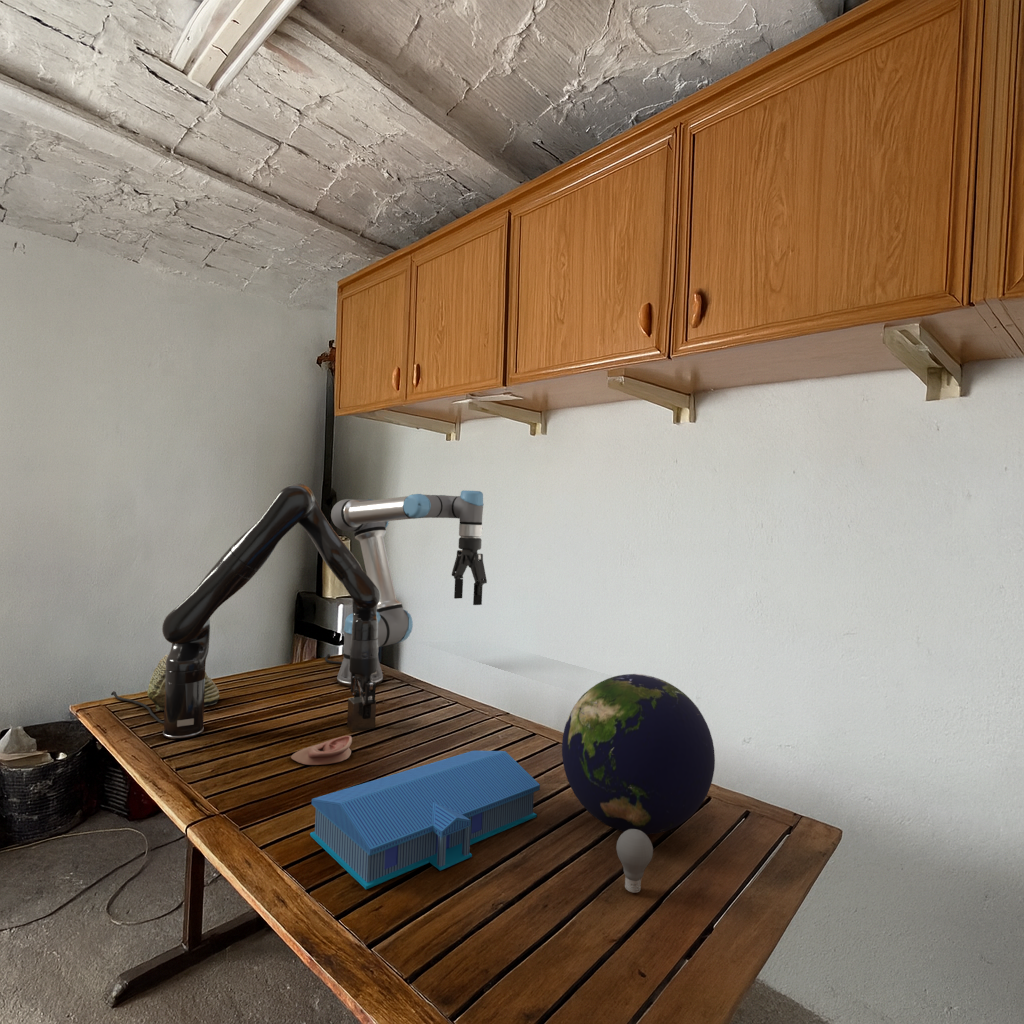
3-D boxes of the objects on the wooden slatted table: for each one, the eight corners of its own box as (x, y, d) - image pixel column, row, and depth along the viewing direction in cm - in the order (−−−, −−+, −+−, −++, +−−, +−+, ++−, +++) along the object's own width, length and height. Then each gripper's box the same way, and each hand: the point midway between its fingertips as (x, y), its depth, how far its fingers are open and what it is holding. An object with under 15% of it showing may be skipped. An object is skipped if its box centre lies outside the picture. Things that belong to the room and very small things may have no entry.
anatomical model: (284, 745, 150) (309, 728, 161) (283, 762, 150) (308, 744, 161) (336, 752, 147) (358, 734, 158) (335, 769, 147) (357, 750, 158)
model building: (376, 899, 100) (378, 836, 100) (308, 834, 119) (310, 781, 118) (548, 822, 127) (550, 773, 127) (472, 779, 145) (474, 735, 145)
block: (375, 728, 174) (376, 700, 174) (352, 732, 171) (353, 703, 171) (369, 723, 178) (370, 695, 178) (346, 726, 175) (348, 698, 175)
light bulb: (610, 879, 108) (613, 822, 108) (644, 879, 109) (647, 822, 109) (619, 902, 102) (622, 840, 102) (655, 901, 103) (658, 840, 103)
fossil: (144, 707, 182) (145, 655, 182) (212, 696, 194) (213, 647, 194) (151, 716, 175) (153, 662, 175) (221, 703, 188) (223, 653, 188)
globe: (537, 843, 119) (545, 684, 118) (581, 780, 147) (587, 651, 146) (703, 885, 108) (711, 711, 107) (716, 809, 135) (723, 670, 135)
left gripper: (386, 659, 170) (383, 720, 170) (368, 647, 182) (366, 704, 182) (359, 662, 166) (356, 724, 166) (342, 649, 178) (340, 708, 178)
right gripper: (499, 540, 200) (496, 607, 201) (463, 534, 221) (460, 595, 222) (478, 540, 196) (475, 608, 197) (443, 534, 217) (441, 596, 218)
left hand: (361, 713), depth 174 cm, fingers open, 7 cm apart
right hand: (467, 601), depth 209 cm, fingers open, 13 cm apart
